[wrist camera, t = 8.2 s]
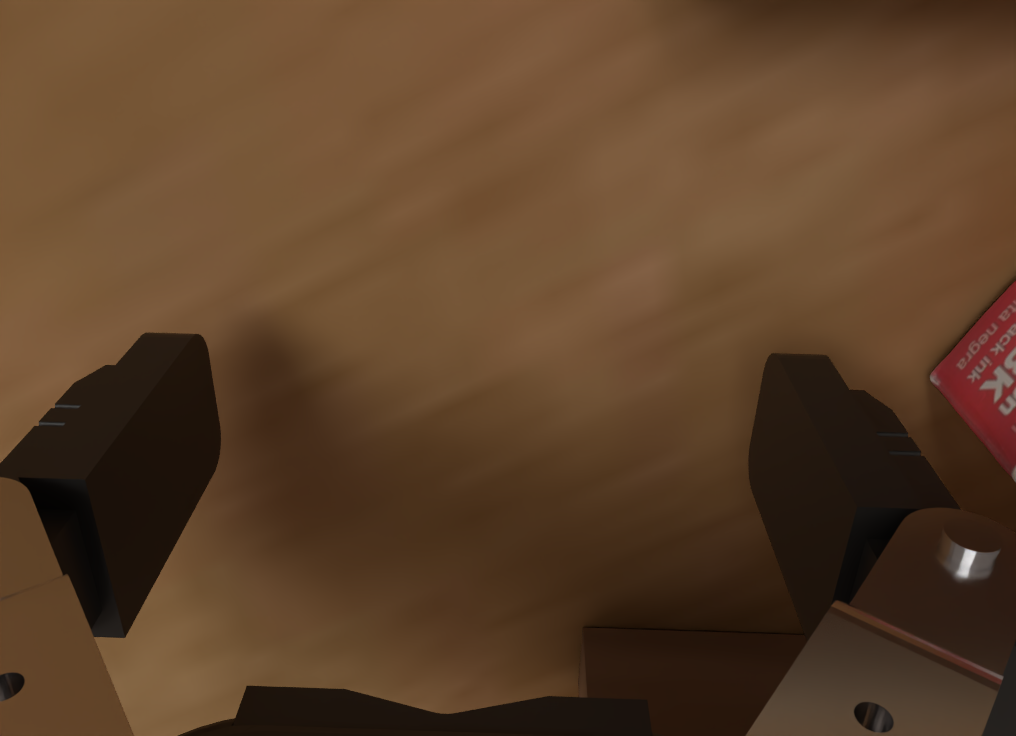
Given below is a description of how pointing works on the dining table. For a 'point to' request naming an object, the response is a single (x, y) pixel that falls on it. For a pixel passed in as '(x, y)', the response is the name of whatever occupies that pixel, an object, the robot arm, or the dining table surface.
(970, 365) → the ink box
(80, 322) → the dining table surface
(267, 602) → the dining table surface
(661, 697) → the frame
